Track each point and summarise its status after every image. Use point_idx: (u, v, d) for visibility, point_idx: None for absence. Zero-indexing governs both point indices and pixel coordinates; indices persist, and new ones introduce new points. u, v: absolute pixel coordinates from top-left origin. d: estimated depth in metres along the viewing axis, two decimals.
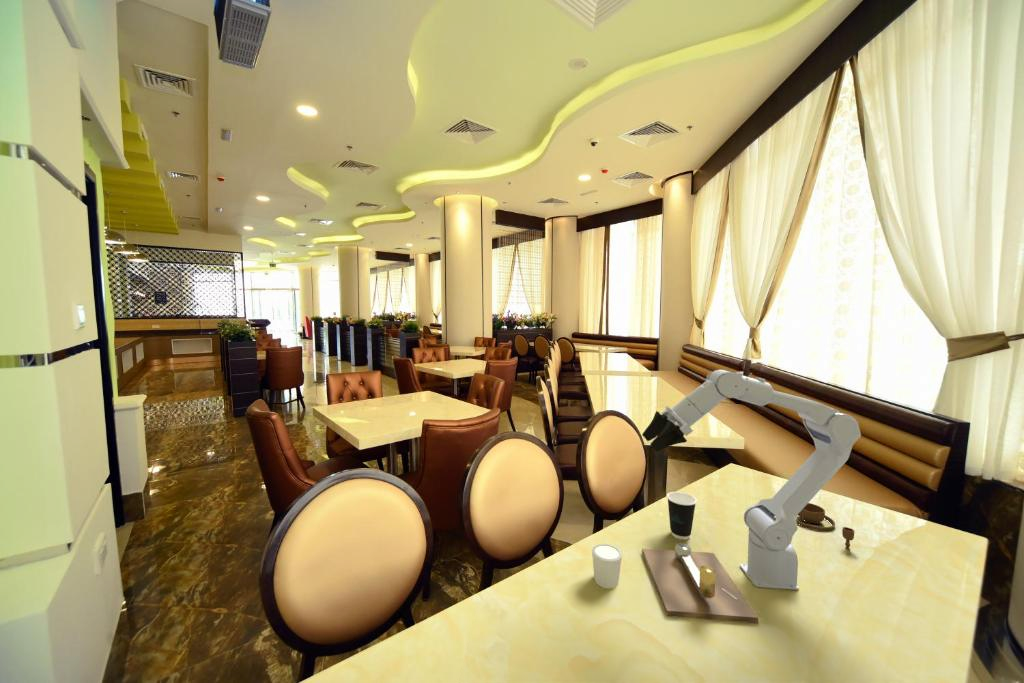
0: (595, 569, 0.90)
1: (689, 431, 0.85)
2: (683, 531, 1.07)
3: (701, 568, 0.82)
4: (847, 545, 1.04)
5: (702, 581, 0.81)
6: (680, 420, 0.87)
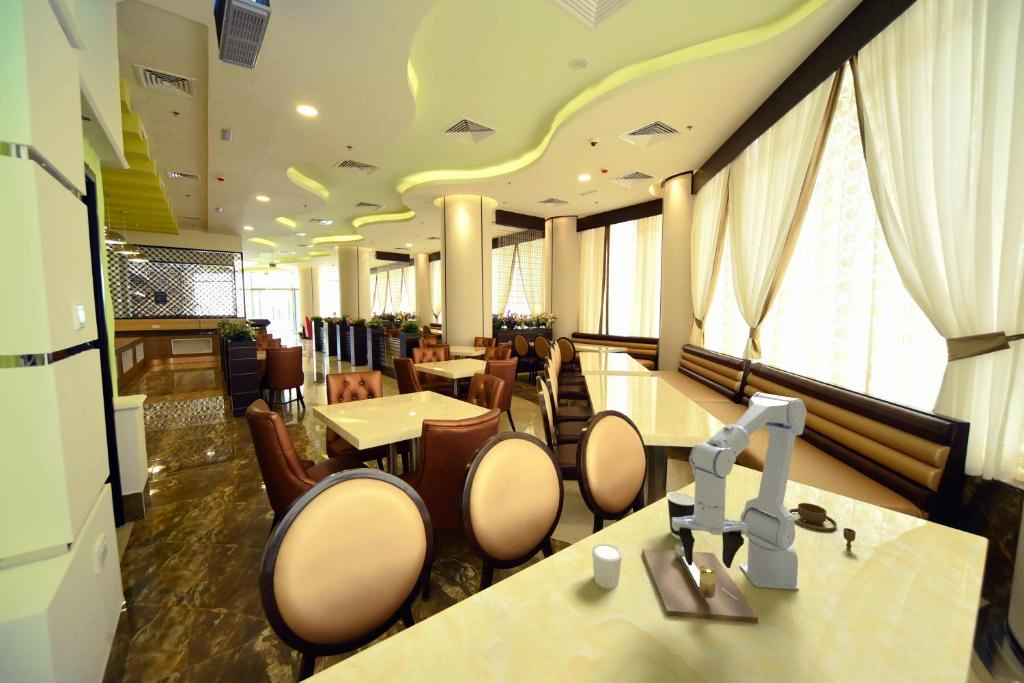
0: (595, 569, 0.90)
1: None
2: None
3: (701, 568, 0.82)
4: (848, 546, 1.03)
5: (702, 581, 0.81)
6: (735, 528, 0.79)
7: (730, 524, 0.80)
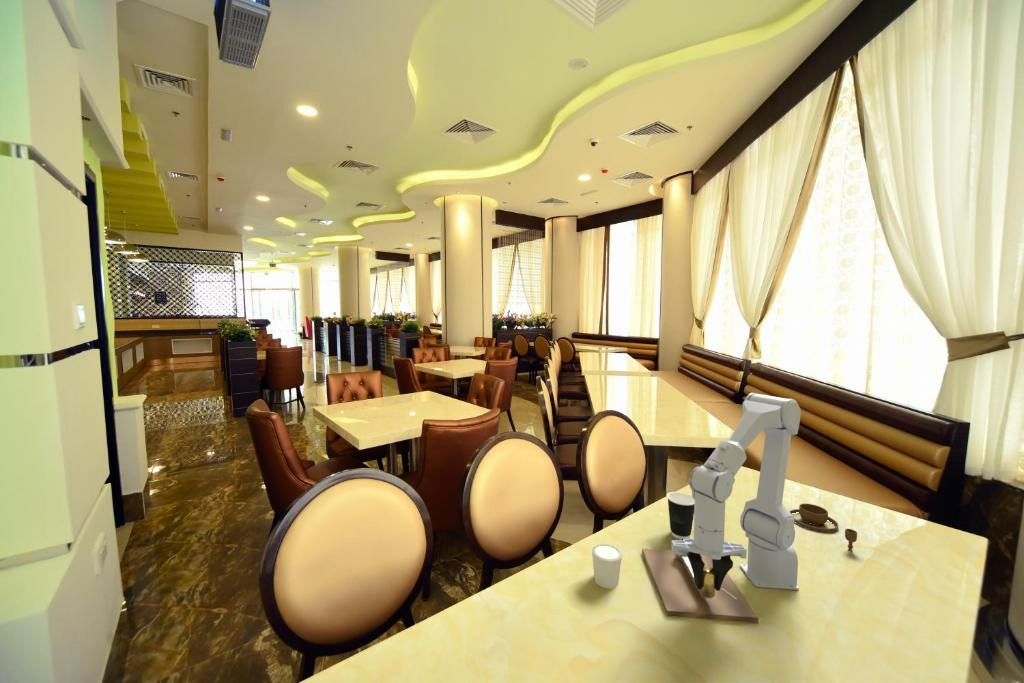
0: (595, 569, 0.90)
1: None
2: (683, 531, 1.07)
3: None
4: (850, 547, 1.03)
5: (702, 581, 0.81)
6: (735, 552, 0.79)
7: (729, 547, 0.81)
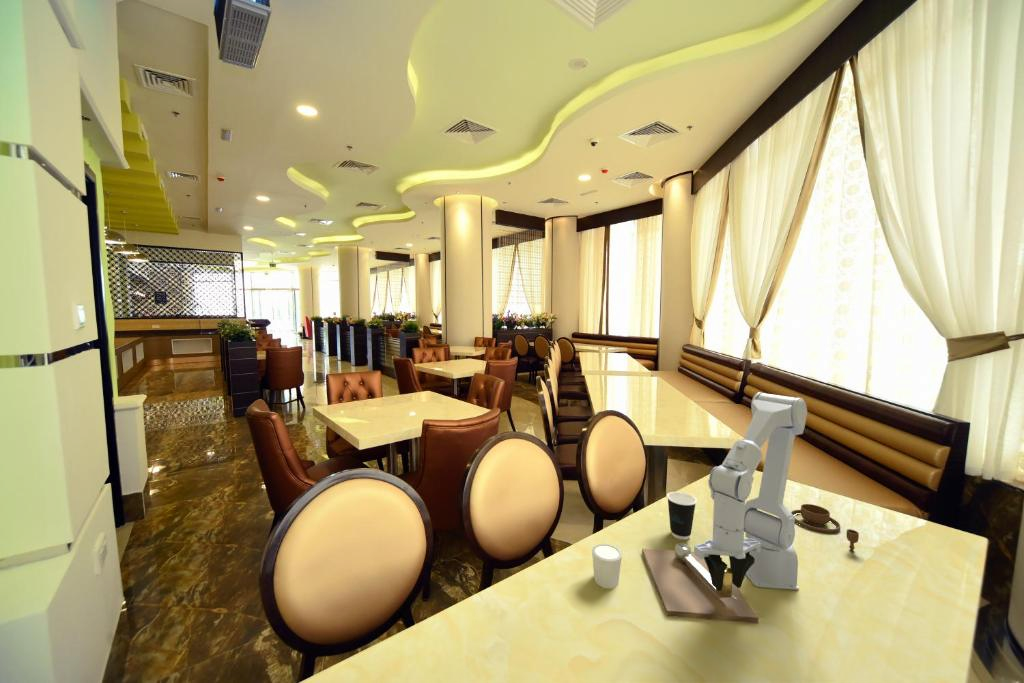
0: (595, 569, 0.90)
1: None
2: (683, 531, 1.07)
3: None
4: (851, 547, 1.03)
5: None
6: (752, 547, 0.81)
7: (745, 543, 0.82)
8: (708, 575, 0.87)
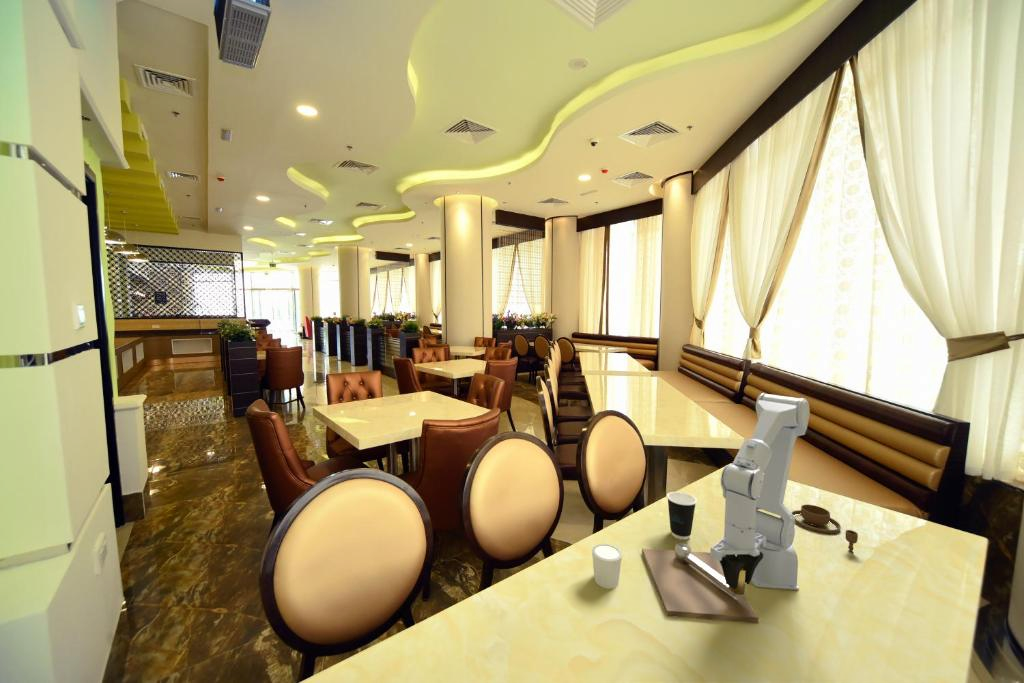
0: (595, 569, 0.90)
1: None
2: (683, 531, 1.07)
3: None
4: (850, 548, 1.02)
5: None
6: (760, 543, 0.83)
7: None
8: (716, 573, 0.88)
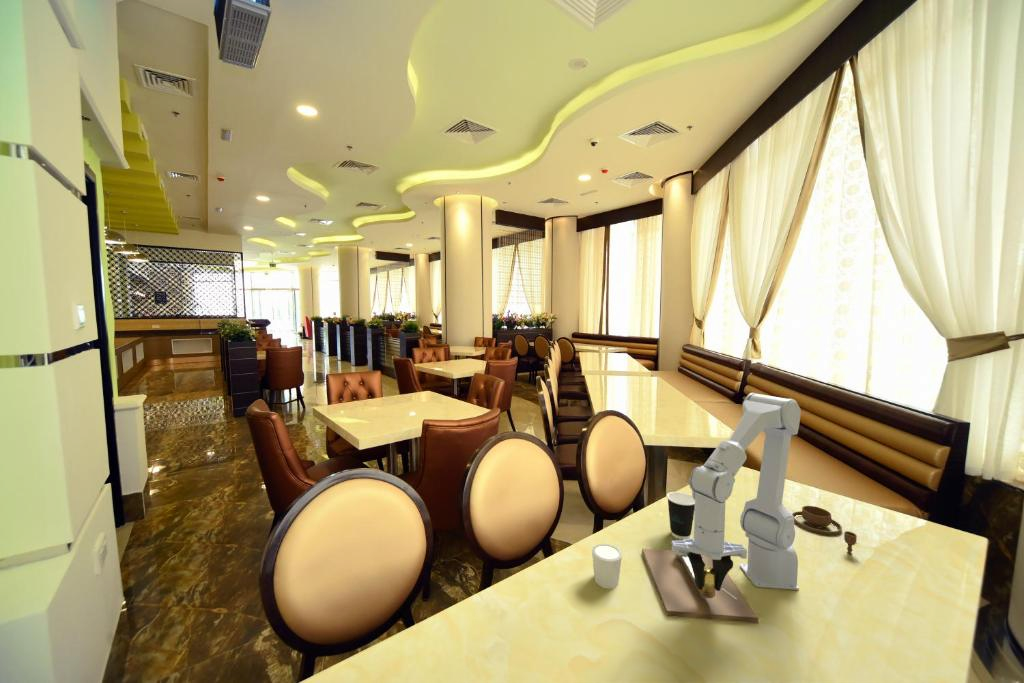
0: (595, 569, 0.90)
1: None
2: (683, 531, 1.07)
3: None
4: (849, 550, 1.02)
5: None
6: (735, 552, 0.79)
7: (730, 548, 0.81)
8: None
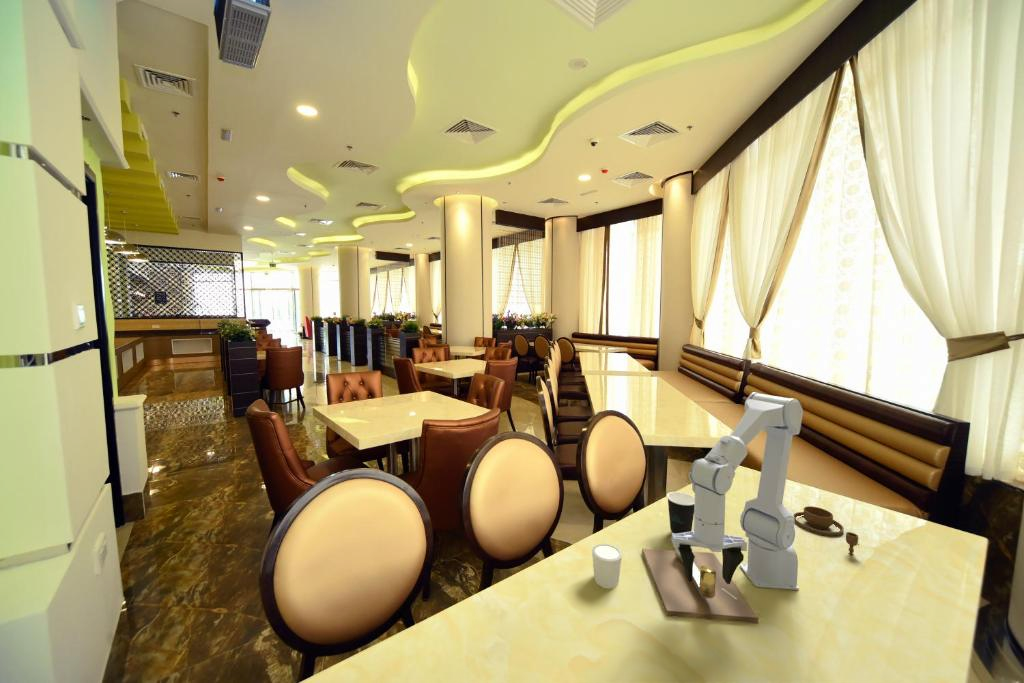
0: (595, 569, 0.90)
1: None
2: (683, 531, 1.07)
3: (701, 568, 0.82)
4: (850, 551, 1.01)
5: (702, 581, 0.81)
6: (735, 545, 0.79)
7: (730, 540, 0.81)
8: (698, 575, 0.87)
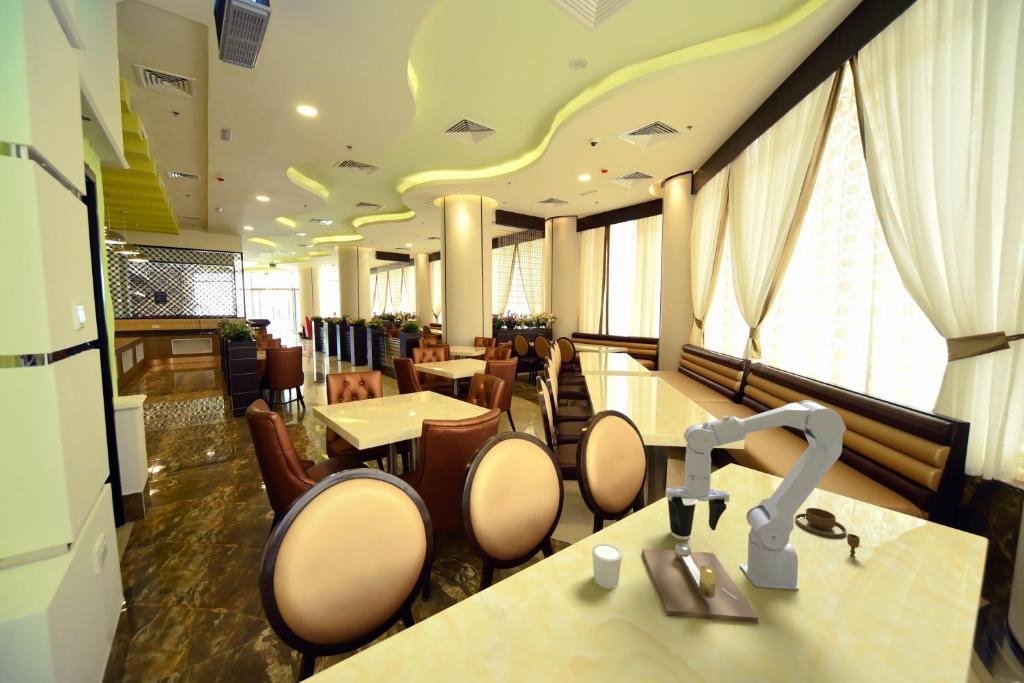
0: (595, 569, 0.90)
1: None
2: (683, 531, 1.07)
3: (701, 568, 0.82)
4: (852, 552, 1.00)
5: (702, 581, 0.81)
6: (719, 496, 0.94)
7: (715, 493, 0.95)
8: (698, 575, 0.87)
